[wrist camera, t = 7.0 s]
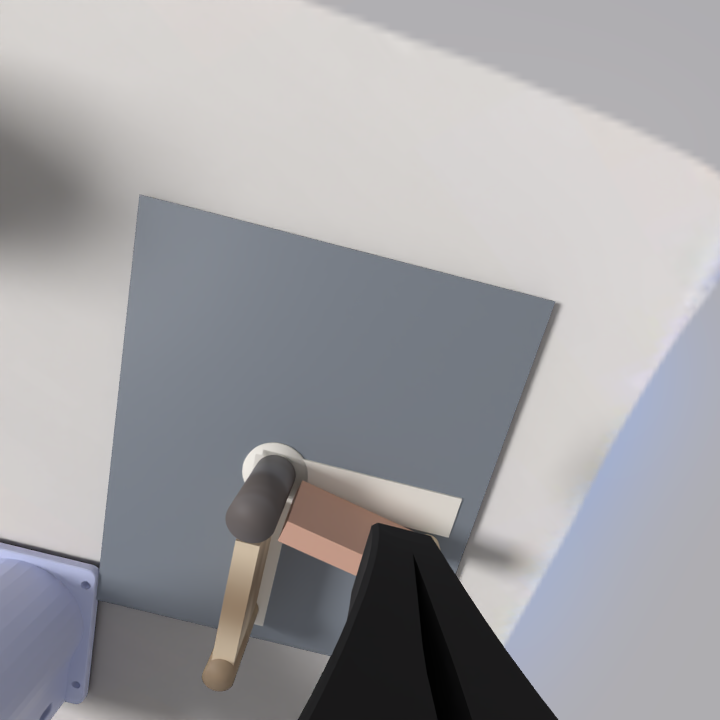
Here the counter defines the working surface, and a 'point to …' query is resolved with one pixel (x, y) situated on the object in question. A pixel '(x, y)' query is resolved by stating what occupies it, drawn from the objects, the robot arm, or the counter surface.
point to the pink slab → (330, 527)
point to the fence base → (247, 563)
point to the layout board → (296, 408)
